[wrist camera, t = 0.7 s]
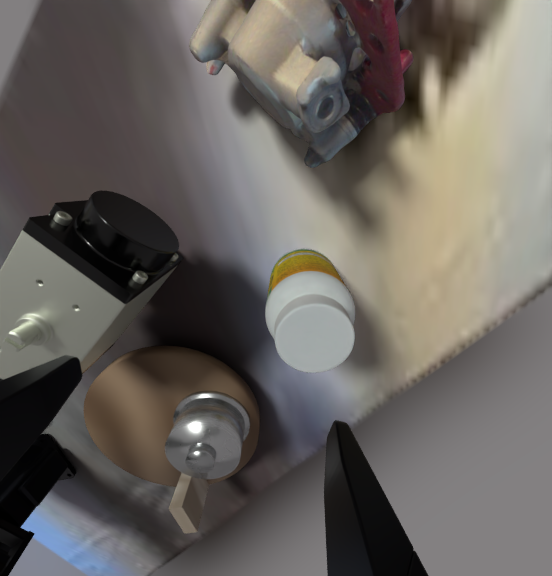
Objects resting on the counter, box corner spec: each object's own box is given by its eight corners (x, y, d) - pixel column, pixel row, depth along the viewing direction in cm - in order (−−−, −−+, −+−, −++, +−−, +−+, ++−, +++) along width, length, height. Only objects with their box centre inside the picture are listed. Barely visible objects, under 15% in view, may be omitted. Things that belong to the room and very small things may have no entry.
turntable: (139, 483, 30) (110, 544, 25) (61, 367, 24) (3, 415, 19) (279, 459, 28) (278, 520, 23) (227, 327, 23) (211, 368, 18)
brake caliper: (486, 8, 14) (489, 54, 7) (338, 156, 23) (276, 240, 16) (339, -224, 12) (133, -486, 5) (235, 41, 20) (109, 83, 13)
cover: (191, 453, 26) (176, 498, 22) (162, 399, 24) (139, 439, 20) (259, 440, 25) (255, 485, 21) (235, 383, 23) (226, 422, 19)
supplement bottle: (341, 299, 23) (377, 373, 14) (280, 314, 24) (278, 394, 15) (327, 238, 21) (359, 278, 12) (261, 256, 22) (246, 307, 13)
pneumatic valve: (215, 229, 21) (137, 280, 10) (135, 326, 24) (9, 446, 13) (156, 177, 20) (-10, 169, 9) (80, 287, 23) (-111, 382, 12)
